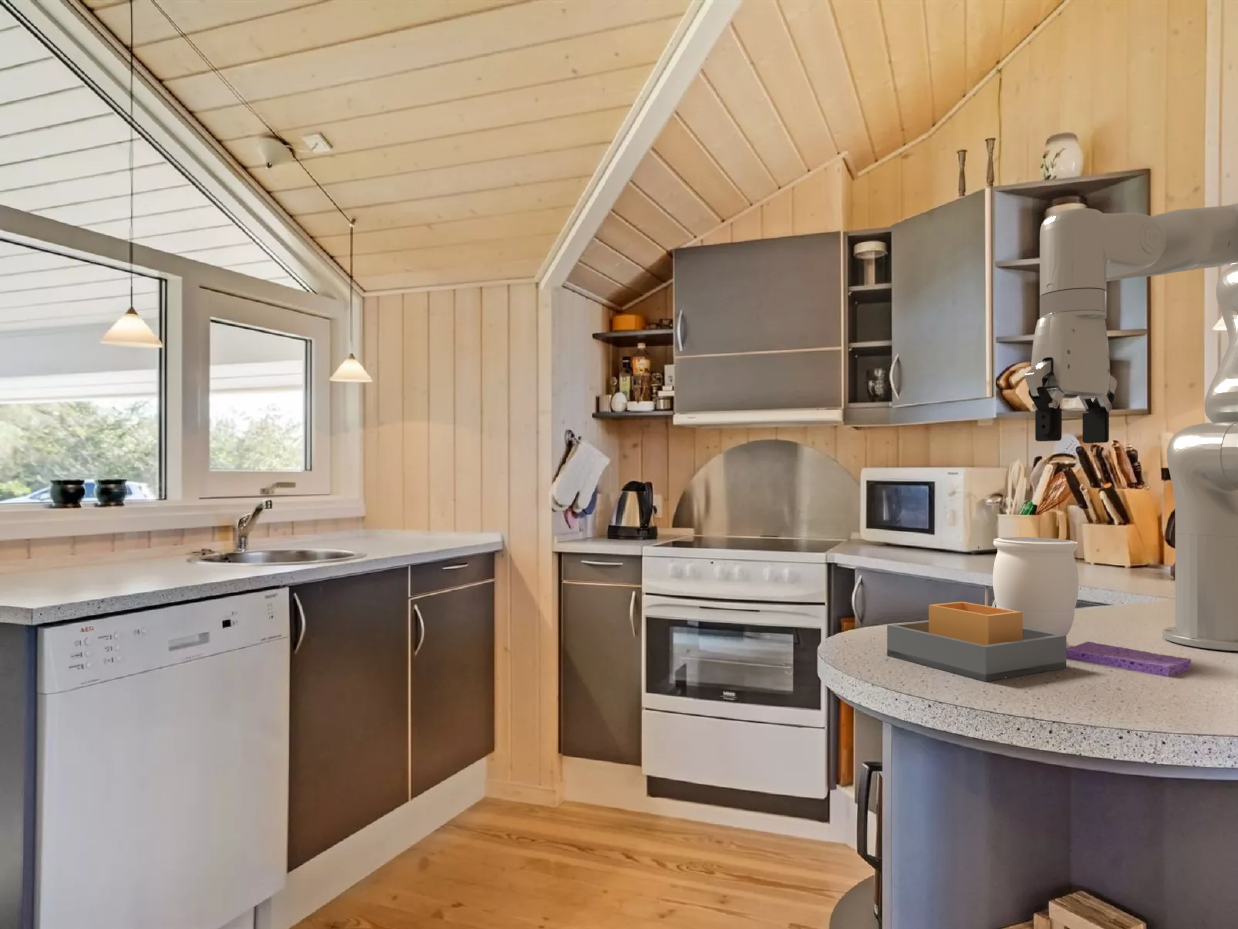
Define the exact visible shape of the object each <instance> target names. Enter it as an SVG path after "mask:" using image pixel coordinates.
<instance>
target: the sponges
mask: <svg viewBox="0 0 1238 929" xmlns="http://www.w3.org/2000/svg"><path fill="white" fill-rule="evenodd" d="M1066 659H1072V660H1076V661H1082V662H1087V663H1092V664H1096V663H1097V665H1101V666H1102V665H1103V666H1109V667H1114V668H1117V669H1118V668H1119V669H1123V670H1129V671H1134V672H1138V673H1139V672H1140V673H1144V674H1150V675H1156V676H1161V677H1165V678H1169V677H1173V676H1175V675H1178V674H1181V673H1183V672H1185V671H1186V672H1187V671H1189V670H1191V668H1192V667H1191V664H1192V663H1191V662H1192V659H1191V658H1188V657H1181V656H1177V657H1176V656H1174V655H1167V654H1158V653H1152V652H1149V651H1144V650H1138V649H1132V648H1127V647H1122V646H1114V645H1110V644H1109V645H1108V644H1103V643H1099V642H1098V643H1096V642H1093V641H1084V642H1083V643H1080V644H1077V645H1074V646H1069V647H1068V648H1066Z"/></svg>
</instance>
